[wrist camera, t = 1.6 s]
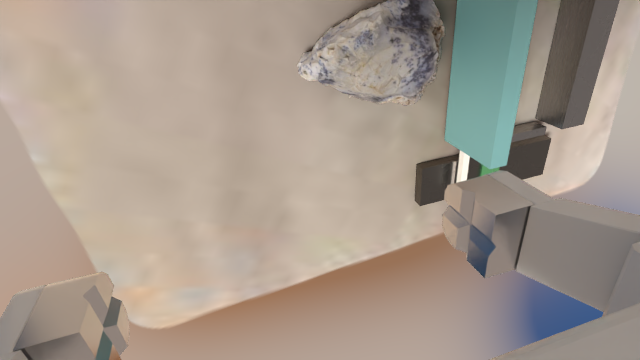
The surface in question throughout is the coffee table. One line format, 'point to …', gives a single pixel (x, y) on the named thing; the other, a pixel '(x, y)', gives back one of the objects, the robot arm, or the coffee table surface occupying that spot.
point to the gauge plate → (487, 78)
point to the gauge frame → (542, 98)
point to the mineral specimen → (380, 52)
